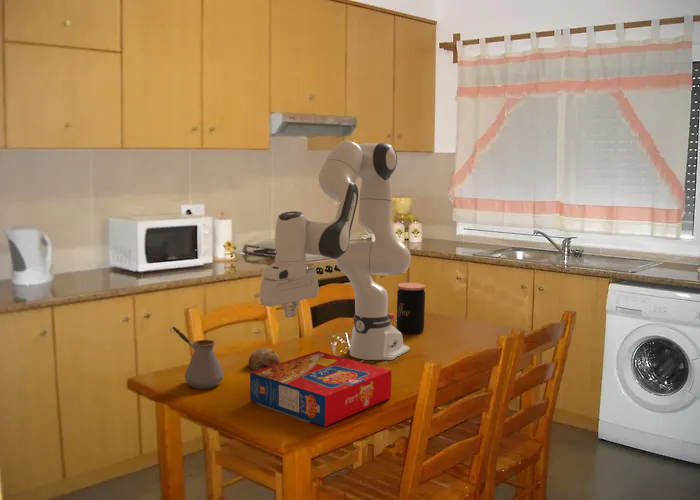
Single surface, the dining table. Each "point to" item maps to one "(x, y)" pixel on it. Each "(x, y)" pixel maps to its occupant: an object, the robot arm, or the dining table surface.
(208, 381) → the coffee pot
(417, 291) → the coffee jar
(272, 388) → the cereal box
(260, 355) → the bread roll
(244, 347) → the dining table surface
